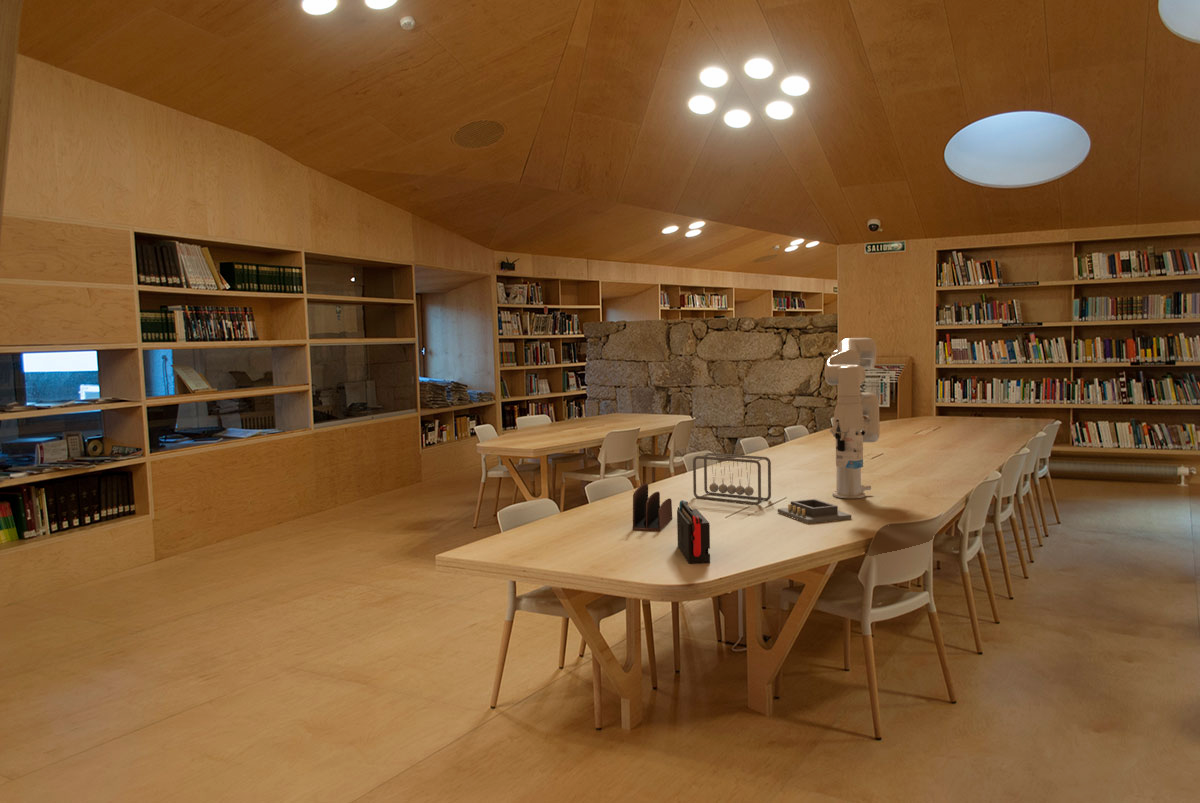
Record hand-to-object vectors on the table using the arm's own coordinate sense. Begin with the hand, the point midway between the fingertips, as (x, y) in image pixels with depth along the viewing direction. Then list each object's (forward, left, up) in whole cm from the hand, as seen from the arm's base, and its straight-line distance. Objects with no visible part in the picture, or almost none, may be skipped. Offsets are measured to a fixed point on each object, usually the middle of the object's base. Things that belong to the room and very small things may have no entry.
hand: (849, 449), depth 292 cm
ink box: (0, 0, -6) cm, 6 cm away
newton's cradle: (+23, -46, -25) cm, 57 cm away
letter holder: (+69, -19, -25) cm, 76 cm away
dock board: (+11, -7, -24) cm, 27 cm away
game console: (+73, +24, -25) cm, 81 cm away
